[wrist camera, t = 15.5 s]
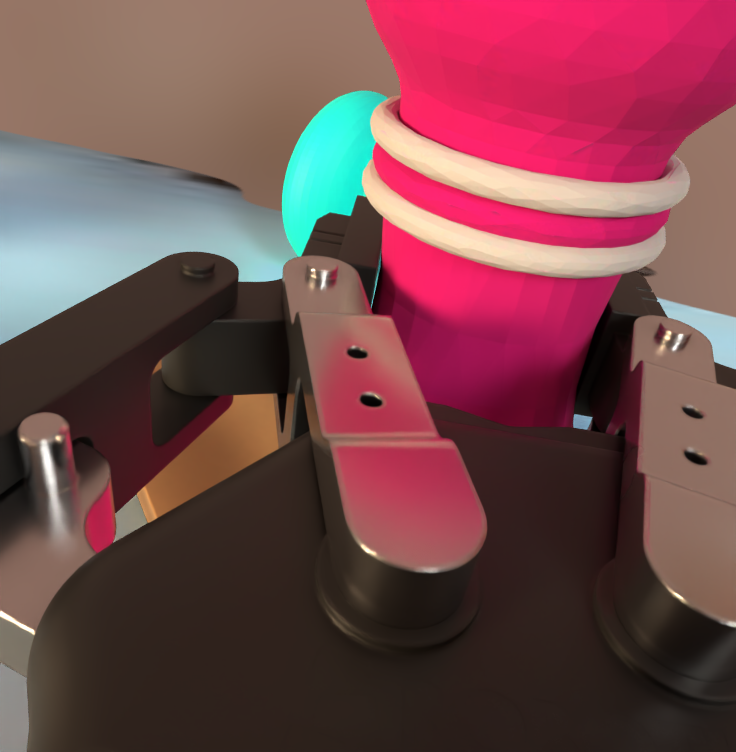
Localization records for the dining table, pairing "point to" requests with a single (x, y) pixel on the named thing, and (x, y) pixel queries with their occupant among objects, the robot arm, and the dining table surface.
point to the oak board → (214, 454)
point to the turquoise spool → (328, 164)
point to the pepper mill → (530, 179)
